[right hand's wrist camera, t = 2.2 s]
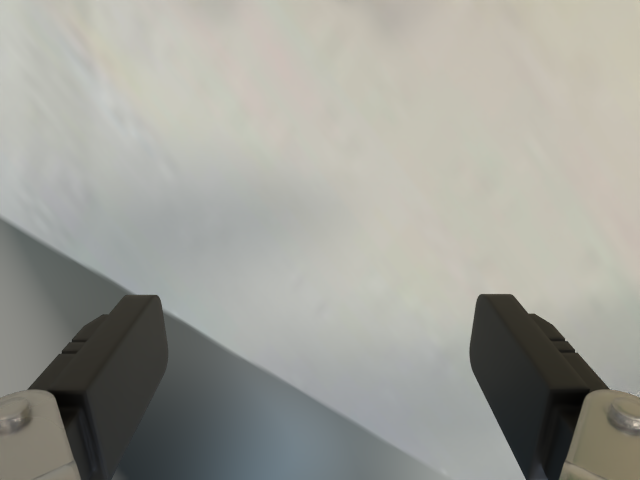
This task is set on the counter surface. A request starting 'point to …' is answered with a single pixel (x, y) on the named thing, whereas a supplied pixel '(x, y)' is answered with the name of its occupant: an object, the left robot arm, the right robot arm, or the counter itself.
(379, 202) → the counter surface
